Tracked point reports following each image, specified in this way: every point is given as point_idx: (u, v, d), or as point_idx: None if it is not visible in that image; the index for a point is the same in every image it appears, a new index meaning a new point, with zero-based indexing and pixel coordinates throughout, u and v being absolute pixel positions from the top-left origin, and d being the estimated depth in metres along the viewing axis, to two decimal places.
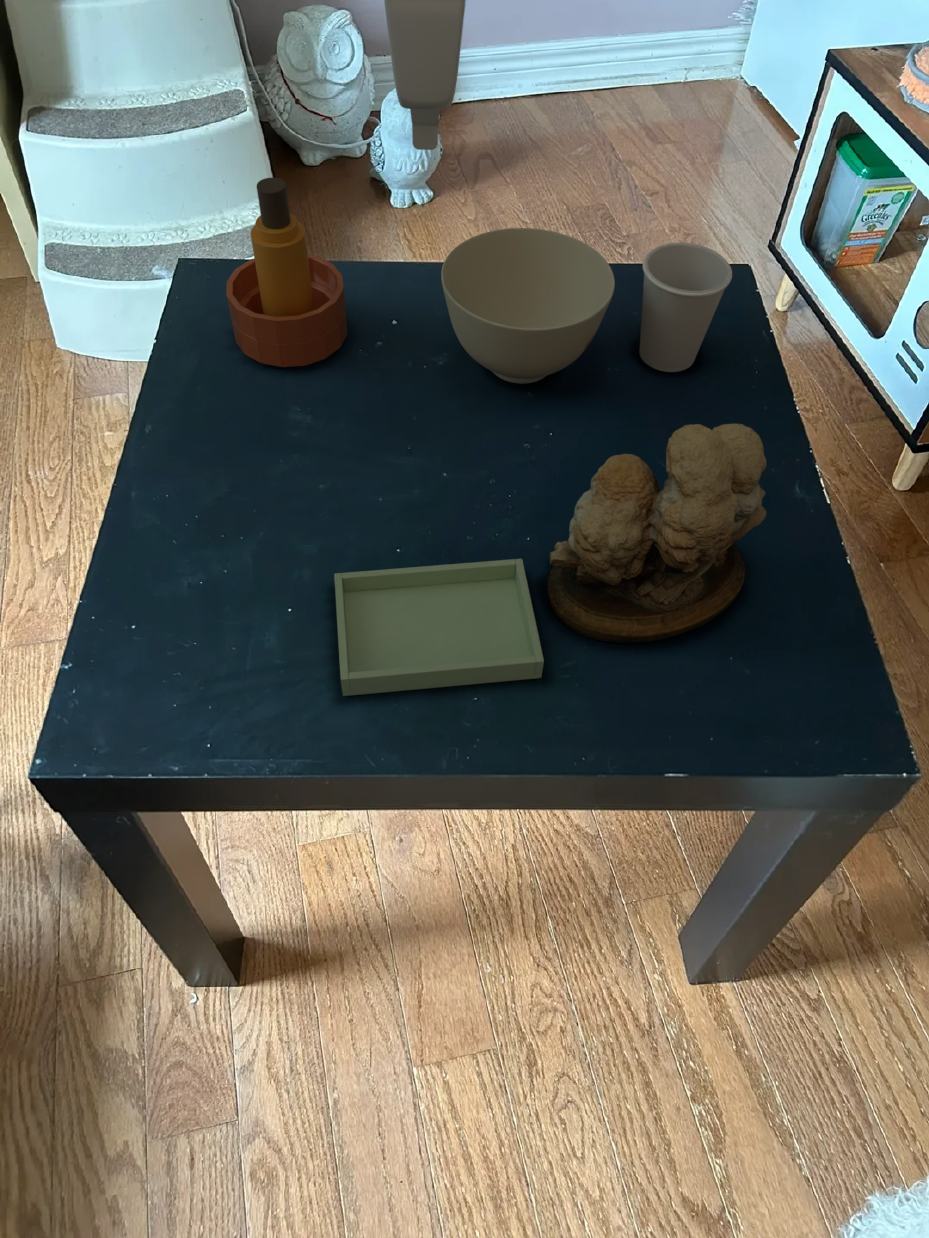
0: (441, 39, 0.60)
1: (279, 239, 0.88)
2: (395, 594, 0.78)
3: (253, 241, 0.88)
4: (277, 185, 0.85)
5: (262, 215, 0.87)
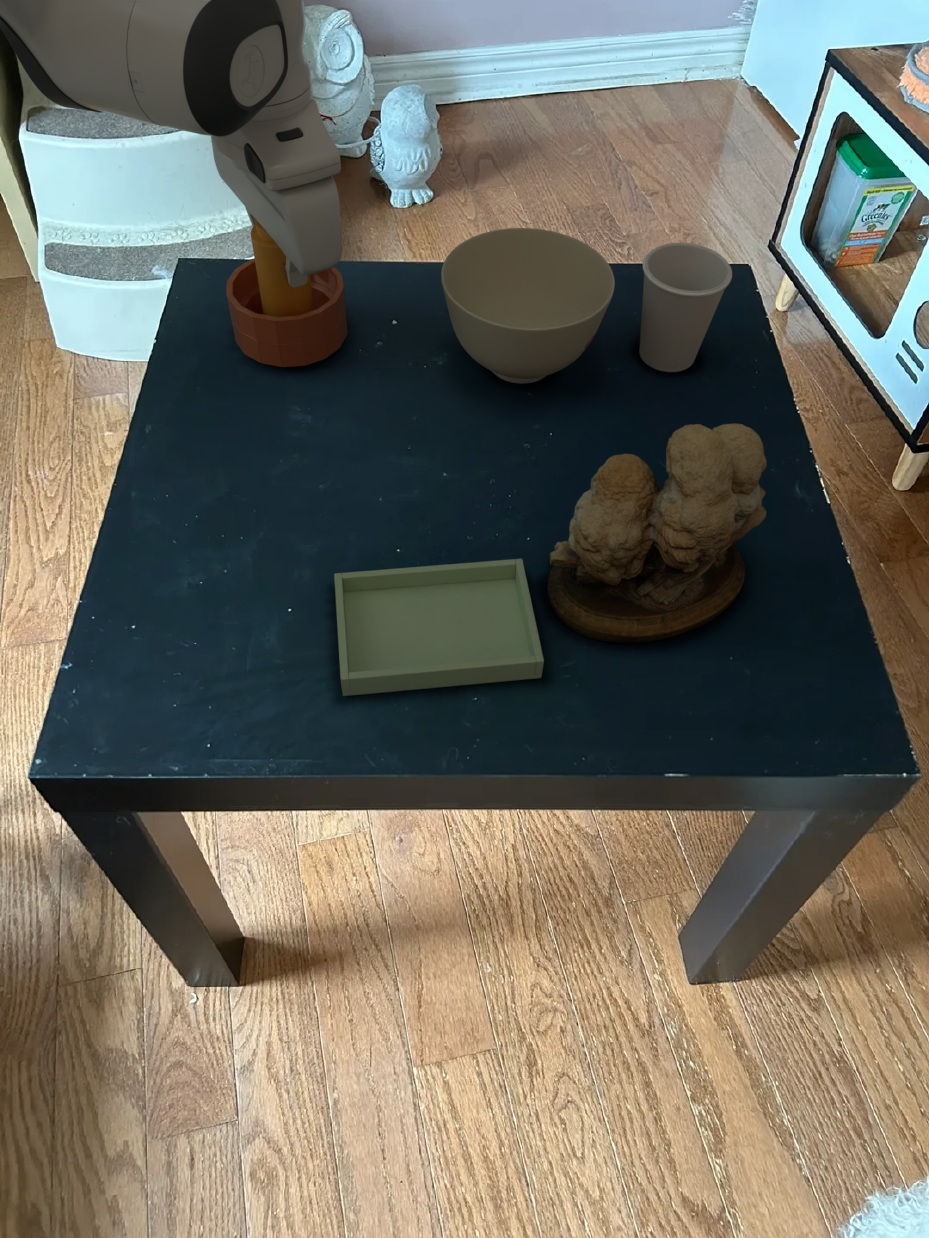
0: (328, 223, 0.80)
1: None
2: (395, 594, 0.78)
3: (253, 241, 0.88)
4: None
5: None
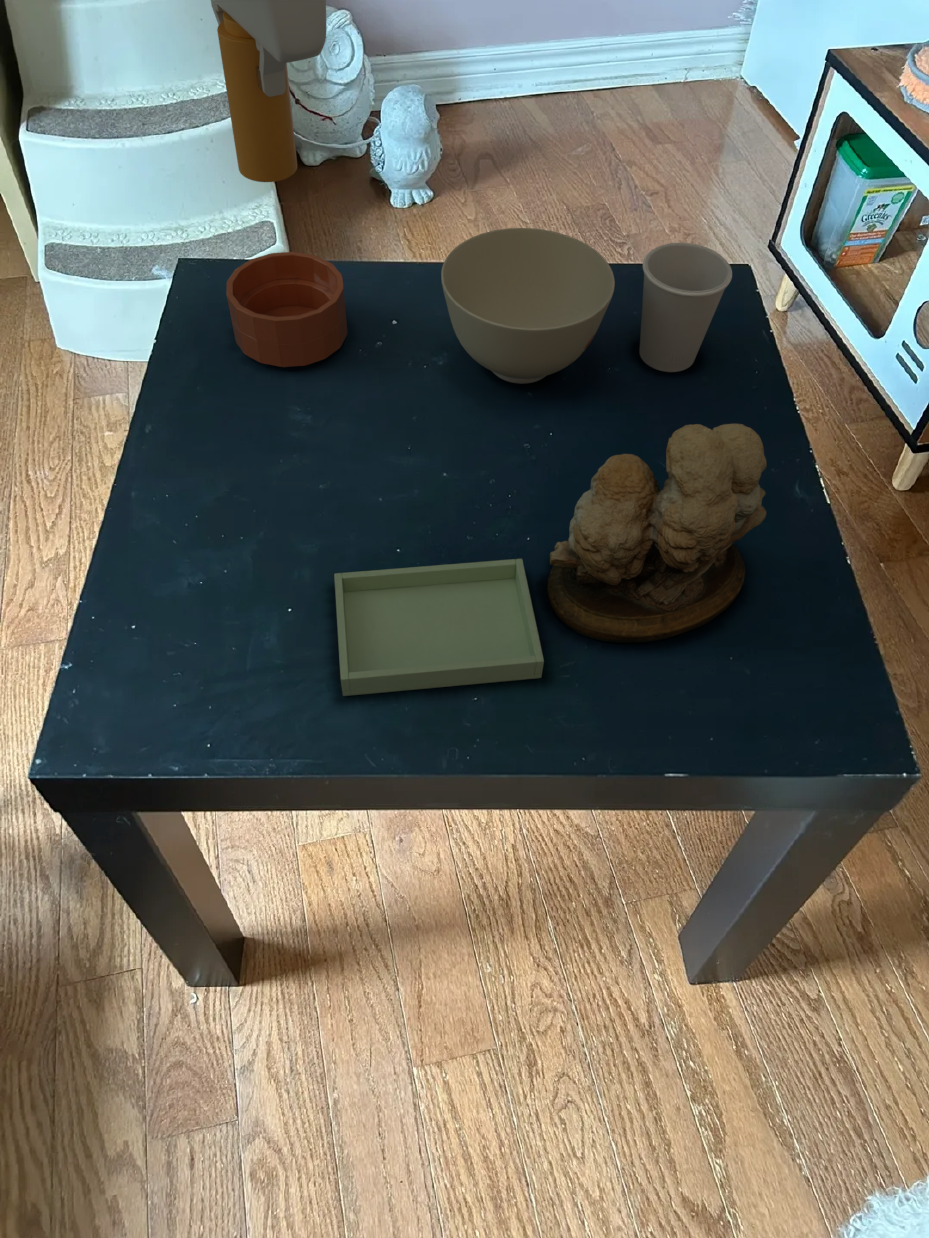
0: None
1: None
2: (395, 594, 0.78)
3: (220, 37, 0.74)
4: None
5: None
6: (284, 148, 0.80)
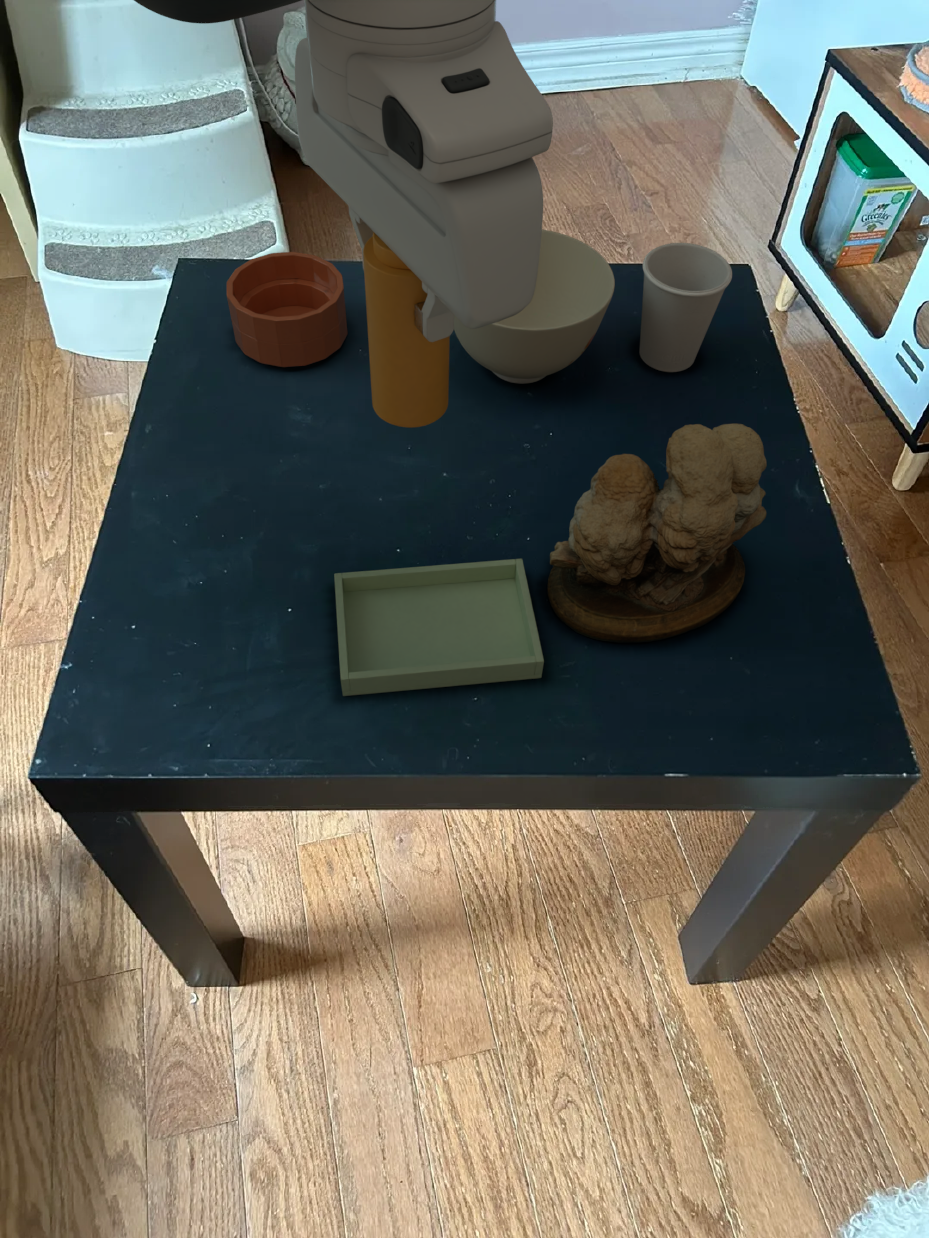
0: (523, 241, 0.46)
1: None
2: (395, 594, 0.78)
3: (369, 267, 0.54)
4: None
5: None
6: (438, 388, 0.60)
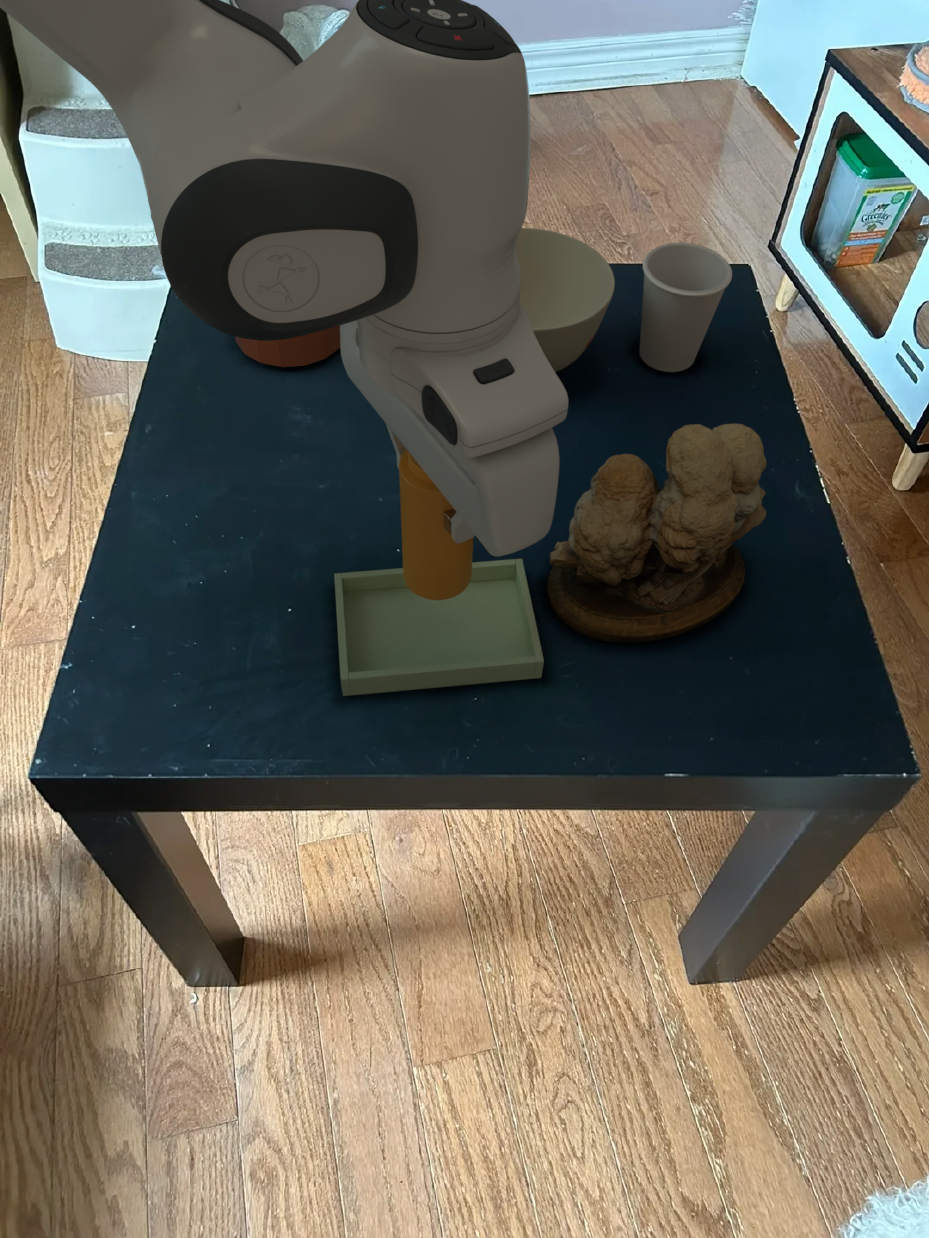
0: (541, 493, 0.53)
1: None
2: (395, 594, 0.78)
3: (404, 480, 0.61)
4: None
5: None
6: (463, 569, 0.67)
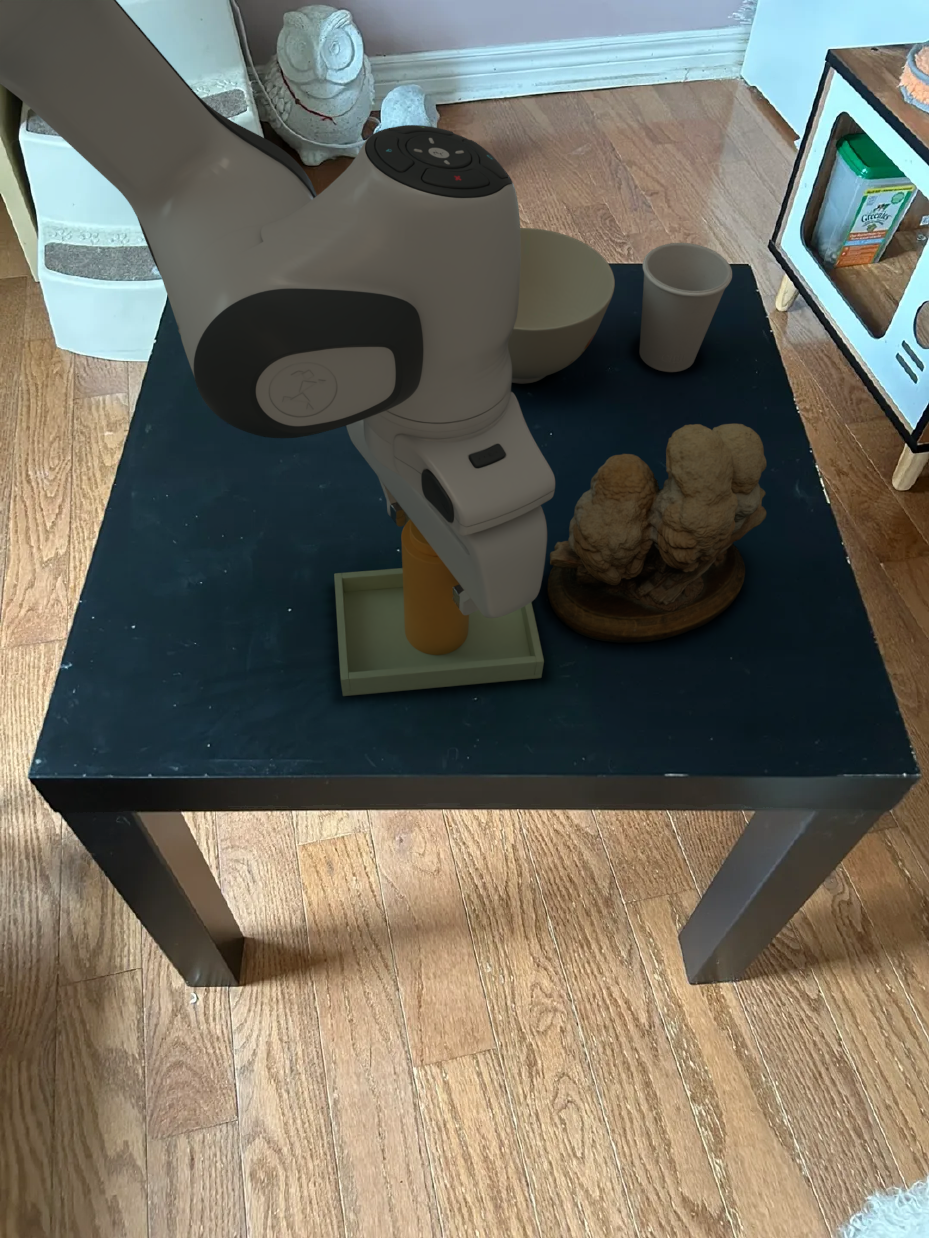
0: (530, 563, 0.57)
1: None
2: (395, 594, 0.78)
3: (406, 551, 0.66)
4: None
5: None
6: (460, 627, 0.73)
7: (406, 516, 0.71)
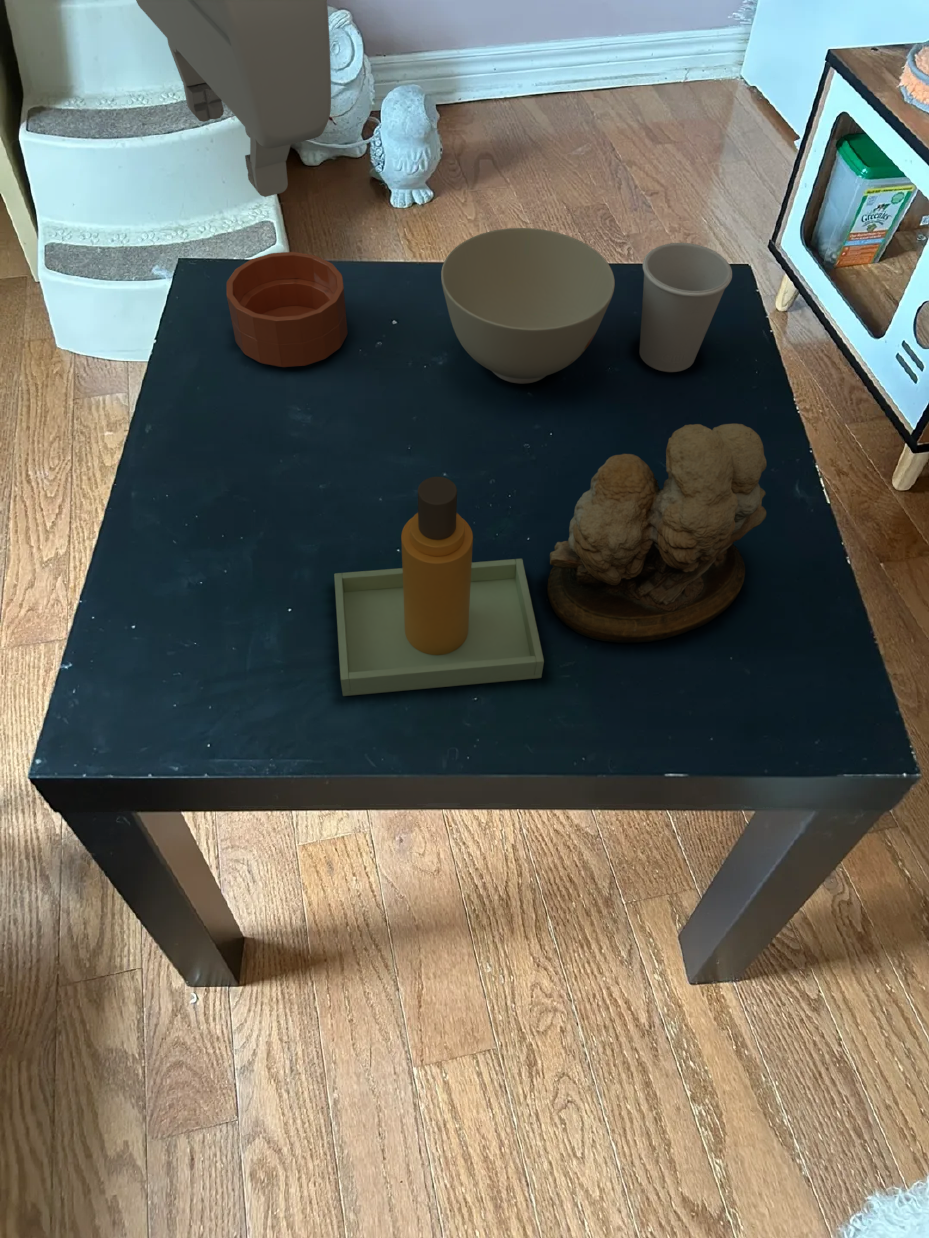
0: (307, 48, 0.45)
1: (442, 552, 0.66)
2: (395, 594, 0.78)
3: (406, 551, 0.66)
4: (446, 491, 0.64)
5: (421, 523, 0.65)
6: (460, 627, 0.73)
7: (208, 107, 0.58)
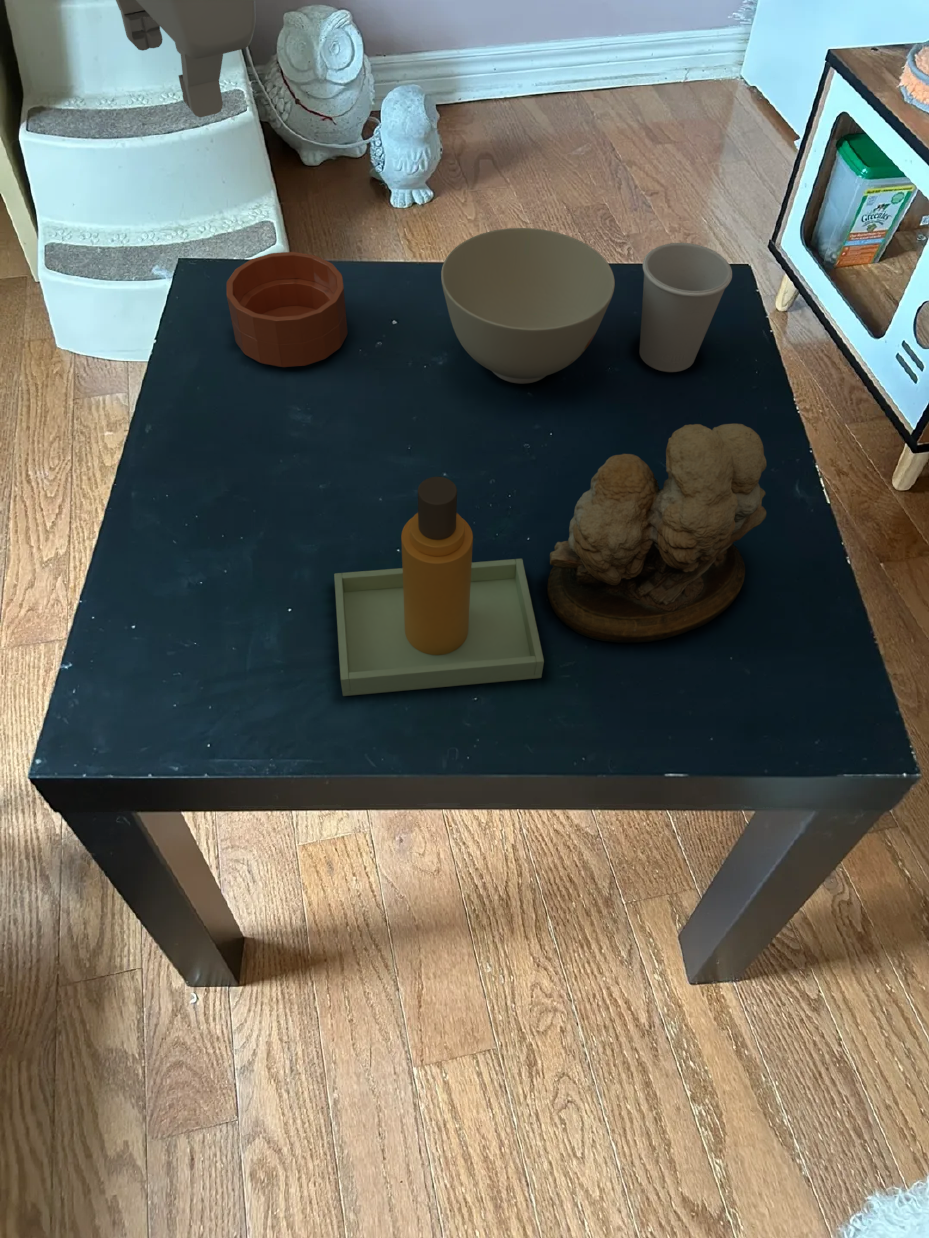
0: None
1: (442, 552, 0.66)
2: (395, 594, 0.78)
3: (406, 551, 0.66)
4: (446, 491, 0.64)
5: (421, 523, 0.65)
6: (460, 627, 0.73)
7: (146, 35, 0.58)
